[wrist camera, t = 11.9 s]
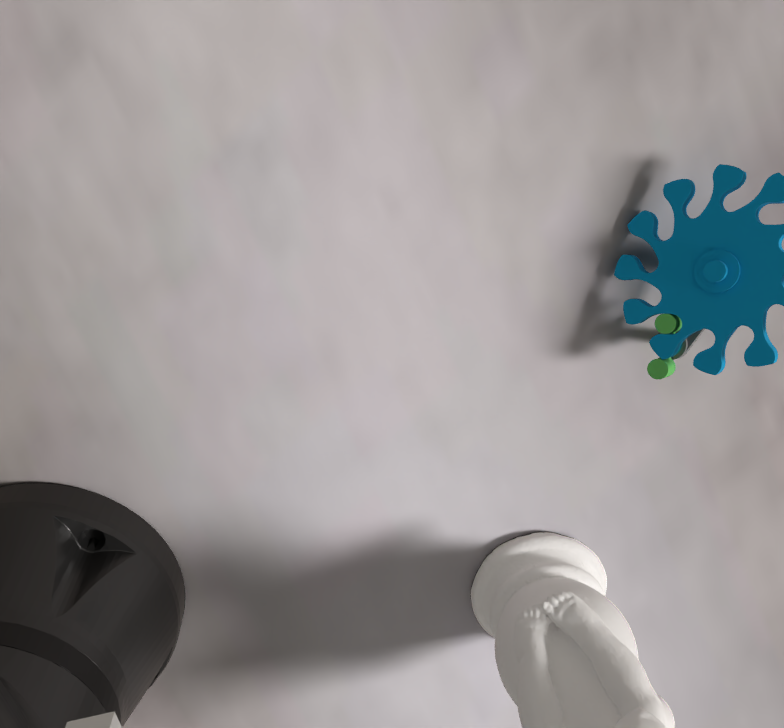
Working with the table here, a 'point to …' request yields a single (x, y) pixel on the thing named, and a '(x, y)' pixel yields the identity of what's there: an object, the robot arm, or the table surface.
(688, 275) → the gear
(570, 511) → the table surface
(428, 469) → the table surface
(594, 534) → the table surface
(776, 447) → the table surface
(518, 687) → the white statue
